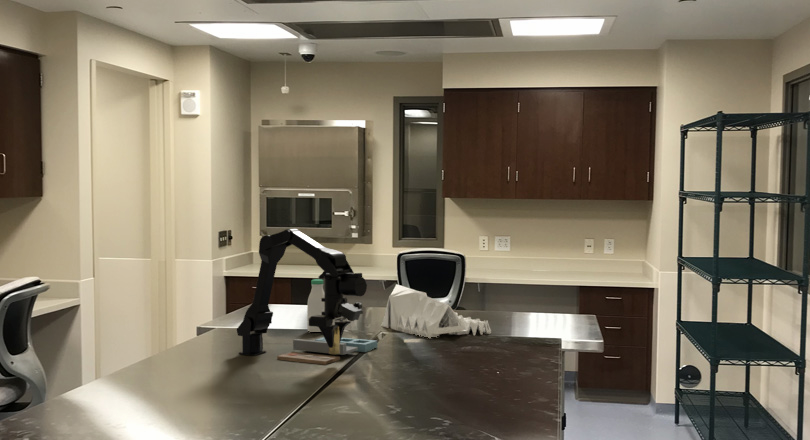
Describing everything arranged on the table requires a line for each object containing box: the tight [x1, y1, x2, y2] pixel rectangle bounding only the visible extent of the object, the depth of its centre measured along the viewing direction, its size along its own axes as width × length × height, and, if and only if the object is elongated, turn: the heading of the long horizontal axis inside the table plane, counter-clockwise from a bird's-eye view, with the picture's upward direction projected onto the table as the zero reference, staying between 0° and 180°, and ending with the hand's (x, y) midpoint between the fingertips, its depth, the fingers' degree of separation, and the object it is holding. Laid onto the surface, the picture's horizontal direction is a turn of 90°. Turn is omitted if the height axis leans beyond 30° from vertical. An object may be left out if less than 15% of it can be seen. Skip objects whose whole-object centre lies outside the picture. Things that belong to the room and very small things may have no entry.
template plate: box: [276, 351, 341, 366], centre depth 226 cm, size 8×18×1 cm, turn 63°
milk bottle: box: [306, 278, 324, 333], centre depth 278 cm, size 8×8×20 cm
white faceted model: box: [380, 283, 492, 339], centre depth 283 cm, size 42×27×17 cm, turn 33°
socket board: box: [314, 336, 378, 353], centre depth 245 cm, size 8×20×2 cm, turn 63°
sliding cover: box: [292, 338, 358, 356], centre depth 234 cm, size 9×19×3 cm, turn 63°
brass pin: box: [328, 326, 340, 356], centre depth 217 cm, size 3×3×8 cm
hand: (334, 346), depth 217 cm, fingers closed on brass pin, 3 cm apart
